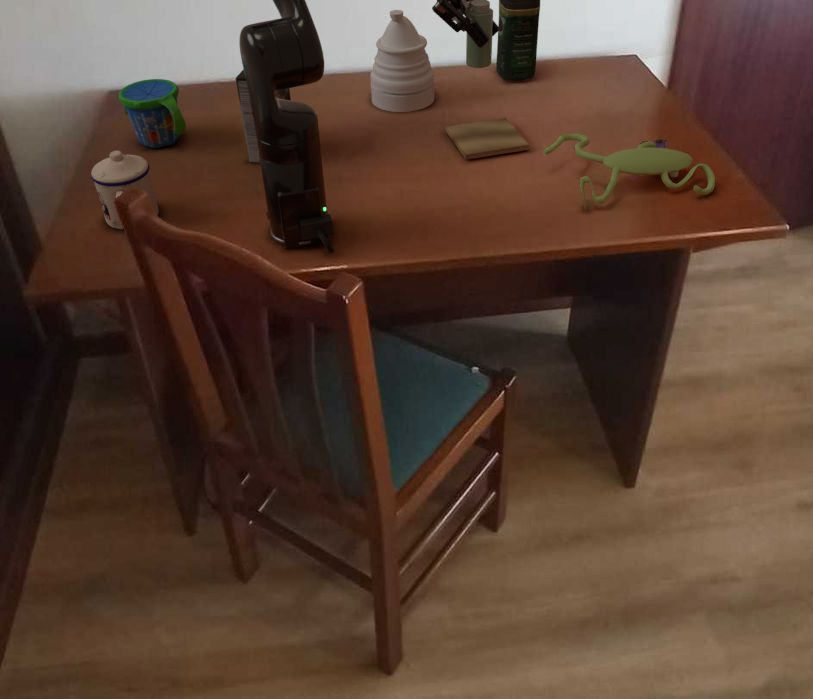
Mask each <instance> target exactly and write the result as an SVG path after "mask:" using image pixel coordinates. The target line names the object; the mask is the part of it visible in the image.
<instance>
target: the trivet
mask: <svg viewBox="0 0 813 699" xmlns="http://www.w3.org/2000/svg"><path fill="white" fill-rule="evenodd" d="M445 132H446V134H447V135H448V136H449V138H450V139H451V141H452V142H453V143H454V145H455V146H456V148H457V149H458V151H459V152H460V154H461V155H462V156H463V158H464V159H465V160H474V159H478V158H485V157H490V156H497V155H503V154H509V153H515V152H522V151H528V150H529V149H530V144H529V143H528V142H527V140H526V139H525V138H524V137H523V136H522V135H521V134H520V132H519V131H518V130H517V129H516V127H514V126H513V124H512V123H511V122H510V121H509V120H508V118H507V117H500V118H495V119H488V120H481V121H475V122H467V123H461V124H456V125H454V124H453V125H449V126H445Z"/></svg>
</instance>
